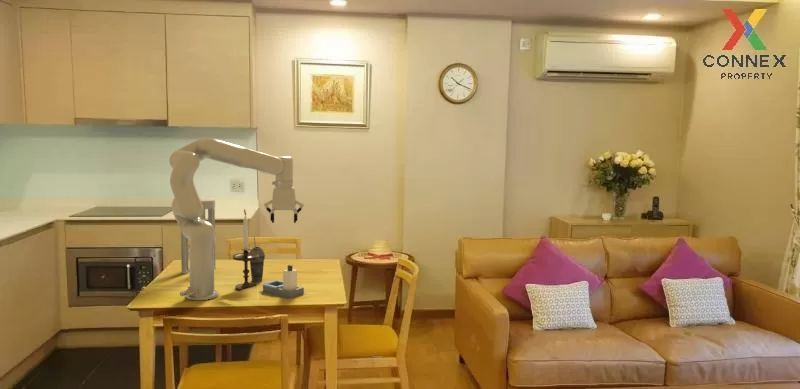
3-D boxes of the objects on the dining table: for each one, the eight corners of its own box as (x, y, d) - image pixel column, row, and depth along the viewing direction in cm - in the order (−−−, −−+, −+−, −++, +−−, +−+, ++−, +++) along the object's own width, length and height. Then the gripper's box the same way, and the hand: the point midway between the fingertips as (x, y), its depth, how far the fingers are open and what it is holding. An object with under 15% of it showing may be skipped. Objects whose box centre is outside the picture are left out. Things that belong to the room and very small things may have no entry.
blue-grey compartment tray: (288, 302, 230) (288, 291, 229) (258, 294, 239) (258, 284, 238) (308, 295, 240) (308, 285, 239) (278, 288, 249) (278, 278, 248)
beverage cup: (260, 283, 256) (260, 239, 254) (245, 282, 257) (245, 238, 255) (267, 279, 263) (267, 236, 261) (253, 278, 265) (252, 235, 262)
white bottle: (290, 295, 235) (290, 267, 233) (283, 294, 237) (283, 265, 235) (296, 293, 238) (297, 265, 236) (289, 291, 240) (289, 263, 239)
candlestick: (242, 293, 241) (241, 210, 237) (228, 287, 248) (227, 207, 244) (264, 288, 249) (263, 208, 245) (250, 283, 256) (249, 205, 252)
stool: (175, 274, 268) (173, 200, 264) (192, 266, 283) (190, 196, 279) (206, 276, 265) (204, 201, 261) (221, 268, 281) (220, 197, 276)
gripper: (263, 185, 249) (263, 223, 251) (303, 185, 251) (303, 224, 253) (265, 183, 257) (265, 221, 259) (304, 183, 259) (303, 221, 261)
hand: (284, 222), depth 256 cm, fingers open, 9 cm apart
